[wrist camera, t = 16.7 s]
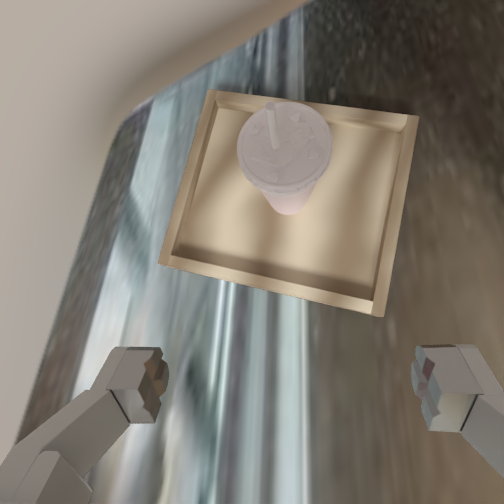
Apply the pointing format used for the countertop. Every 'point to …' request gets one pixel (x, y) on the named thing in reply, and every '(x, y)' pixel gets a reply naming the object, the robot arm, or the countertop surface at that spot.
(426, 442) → the countertop surface
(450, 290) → the countertop surface
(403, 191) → the tray
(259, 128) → the smoothie
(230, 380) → the countertop surface
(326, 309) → the countertop surface
